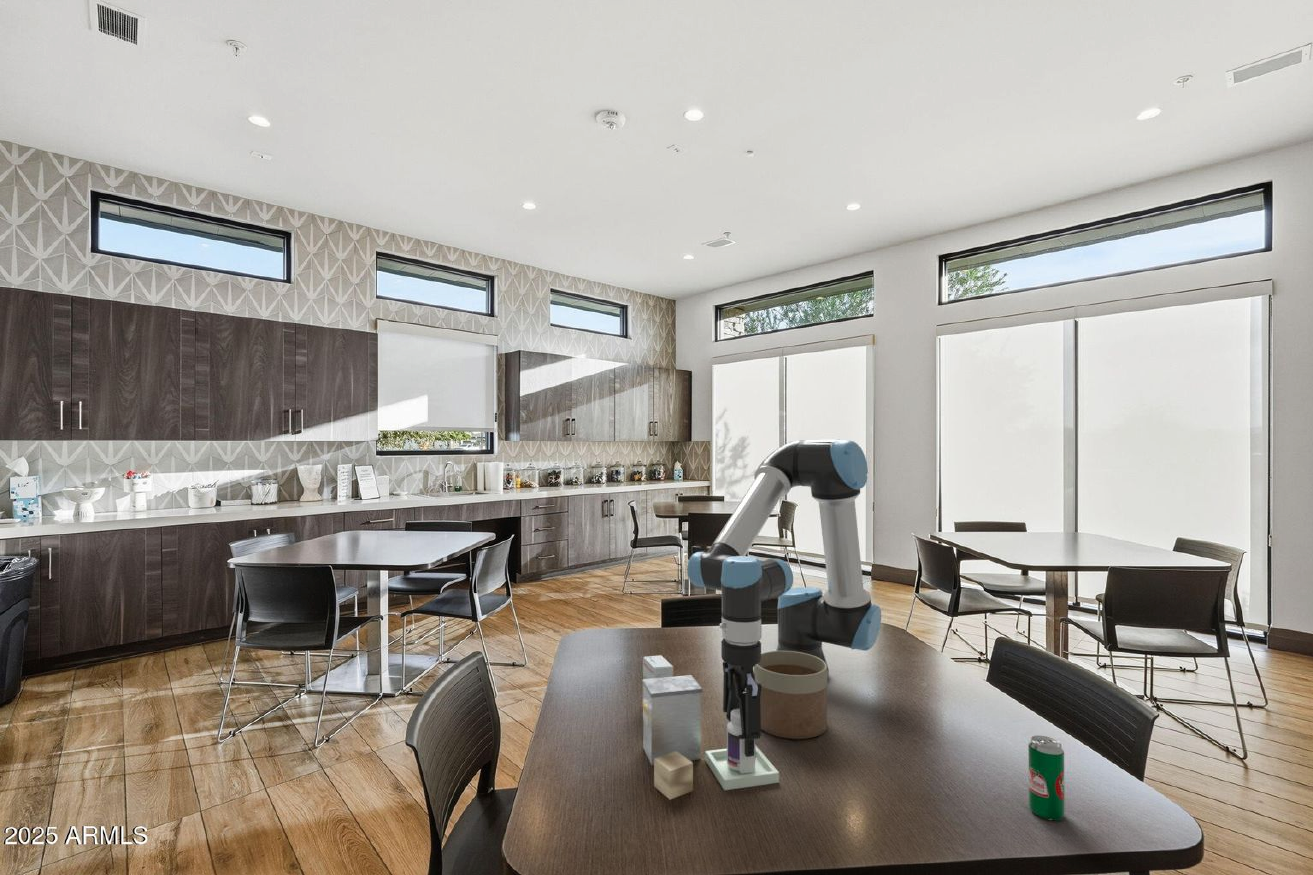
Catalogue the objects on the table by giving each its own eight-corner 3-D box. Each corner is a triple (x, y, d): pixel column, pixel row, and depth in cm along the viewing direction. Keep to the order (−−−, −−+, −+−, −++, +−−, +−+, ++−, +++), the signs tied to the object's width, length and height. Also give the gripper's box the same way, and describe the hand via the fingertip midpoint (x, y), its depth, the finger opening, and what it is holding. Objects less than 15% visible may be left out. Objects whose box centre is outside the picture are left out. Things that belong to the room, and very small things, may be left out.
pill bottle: (759, 770, 111) (759, 718, 111) (731, 773, 110) (731, 720, 110) (750, 756, 116) (750, 705, 117) (723, 758, 116) (723, 707, 116)
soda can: (1021, 805, 103) (1021, 734, 103) (1049, 803, 103) (1049, 733, 103) (1043, 823, 98) (1042, 749, 98) (1072, 821, 98) (1071, 748, 98)
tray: (755, 753, 120) (755, 744, 120) (778, 782, 109) (779, 772, 109) (705, 760, 117) (705, 751, 117) (724, 790, 107) (724, 780, 107)
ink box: (674, 718, 135) (674, 665, 136) (654, 721, 134) (654, 668, 134) (661, 703, 144) (661, 653, 144) (641, 706, 142) (642, 655, 142)
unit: (692, 741, 125) (692, 674, 125) (703, 759, 118) (704, 688, 118) (640, 747, 122) (640, 679, 122) (648, 766, 115) (649, 693, 115)
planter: (747, 734, 128) (747, 669, 128) (760, 705, 143) (760, 647, 143) (824, 747, 122) (824, 679, 123) (829, 715, 137) (829, 655, 138)
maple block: (676, 778, 111) (676, 751, 111) (692, 791, 107) (692, 762, 107) (654, 786, 108) (654, 758, 108) (669, 800, 104) (669, 771, 104)
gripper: (706, 627, 122) (706, 742, 121) (741, 657, 104) (740, 792, 103) (741, 624, 124) (740, 737, 123) (780, 654, 106) (780, 786, 105)
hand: (740, 762), depth 113 cm, fingers closed on pill bottle, 5 cm apart
